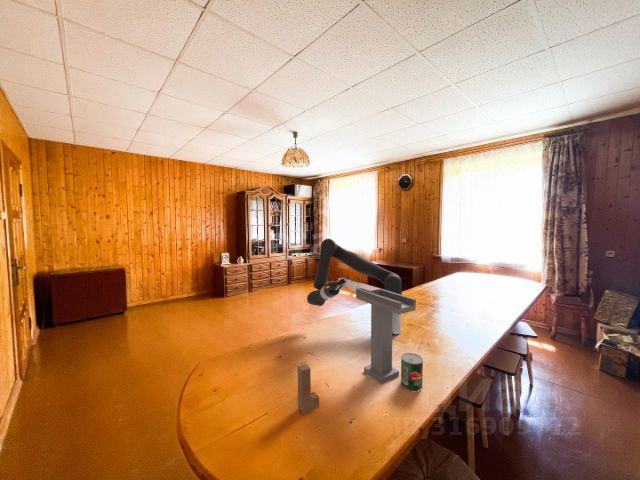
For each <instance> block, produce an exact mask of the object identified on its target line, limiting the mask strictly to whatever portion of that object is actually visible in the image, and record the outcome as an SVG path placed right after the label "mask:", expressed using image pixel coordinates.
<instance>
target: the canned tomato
mask: <svg viewBox="0 0 640 480" xmlns="http://www.w3.org/2000/svg"><path fill="white" fill-rule="evenodd" d="M400 358H401V359H400V365H401V366H400V385H402V386H401V387H402V388H403V389H404V390H405V391H408V390H409V391H408V392H411V391H418V390H420V389H421V388H422V389H423V373H424V372H423V371H424V370H423V368H424V367H423V366H424V365H423V364H424V359H423V357H422V356H420V355H419V354H417V353H411V352H406V353H403V354H401V356H400ZM418 392H419V391H418Z"/></svg>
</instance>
